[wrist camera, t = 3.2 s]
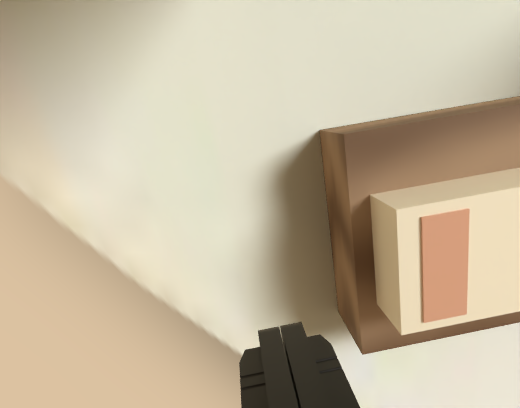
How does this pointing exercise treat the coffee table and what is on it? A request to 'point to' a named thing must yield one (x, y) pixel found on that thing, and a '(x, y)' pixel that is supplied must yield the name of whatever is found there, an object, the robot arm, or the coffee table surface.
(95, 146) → the coffee table surface
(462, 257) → the cream block pink stripe
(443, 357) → the coffee table surface
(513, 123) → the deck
